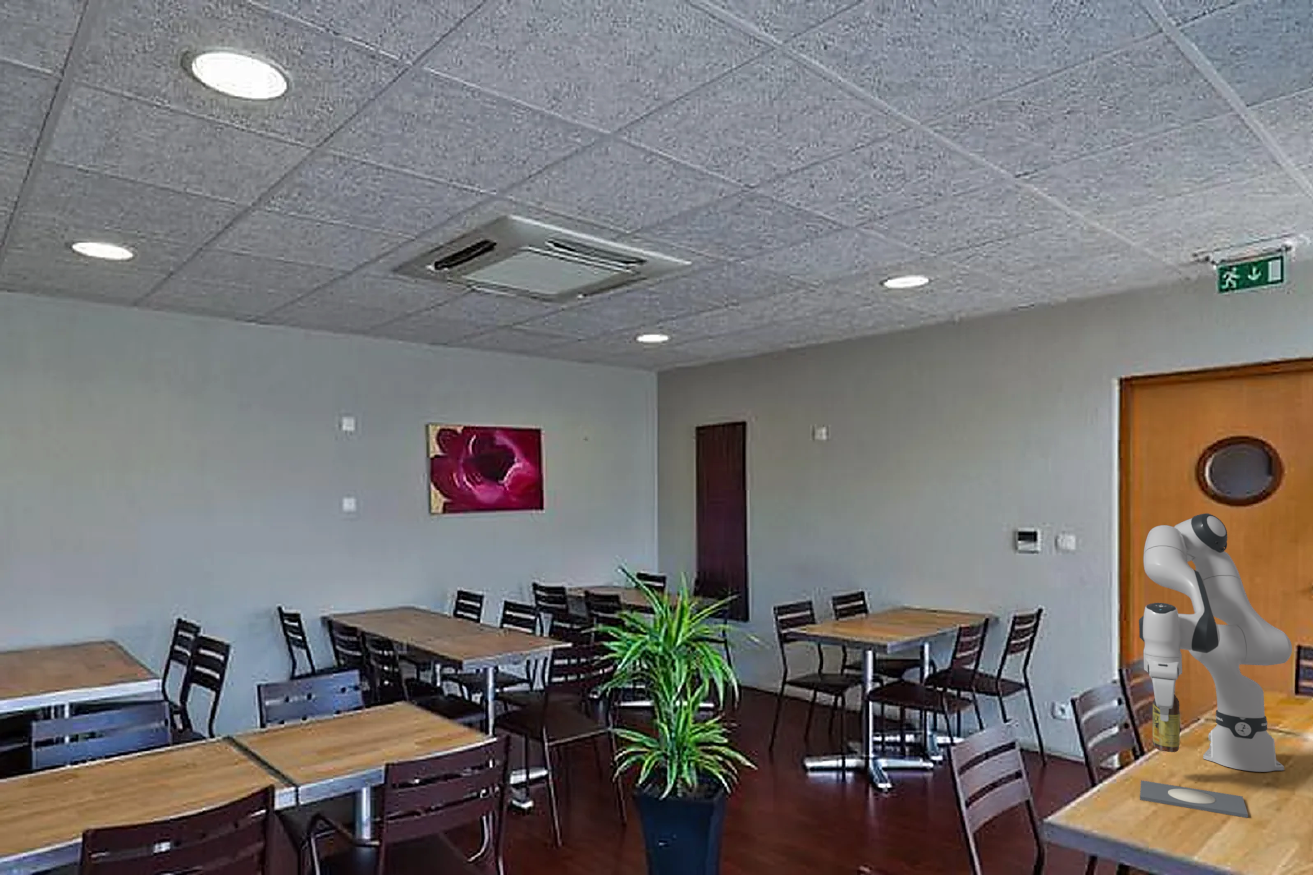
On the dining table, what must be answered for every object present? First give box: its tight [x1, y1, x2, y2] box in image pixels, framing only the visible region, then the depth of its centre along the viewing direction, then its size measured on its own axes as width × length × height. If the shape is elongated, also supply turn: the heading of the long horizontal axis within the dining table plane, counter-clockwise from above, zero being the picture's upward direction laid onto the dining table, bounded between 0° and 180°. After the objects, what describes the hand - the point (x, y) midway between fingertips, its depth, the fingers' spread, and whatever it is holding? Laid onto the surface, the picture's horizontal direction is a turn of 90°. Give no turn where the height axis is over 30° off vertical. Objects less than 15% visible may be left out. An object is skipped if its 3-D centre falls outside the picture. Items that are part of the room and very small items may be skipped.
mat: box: [1139, 779, 1249, 819], centre depth 207 cm, size 14×22×1 cm, turn 59°
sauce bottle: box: [1152, 691, 1181, 753], centre depth 222 cm, size 6×6×20 cm
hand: (1164, 717), depth 222 cm, fingers closed on sauce bottle, 6 cm apart
